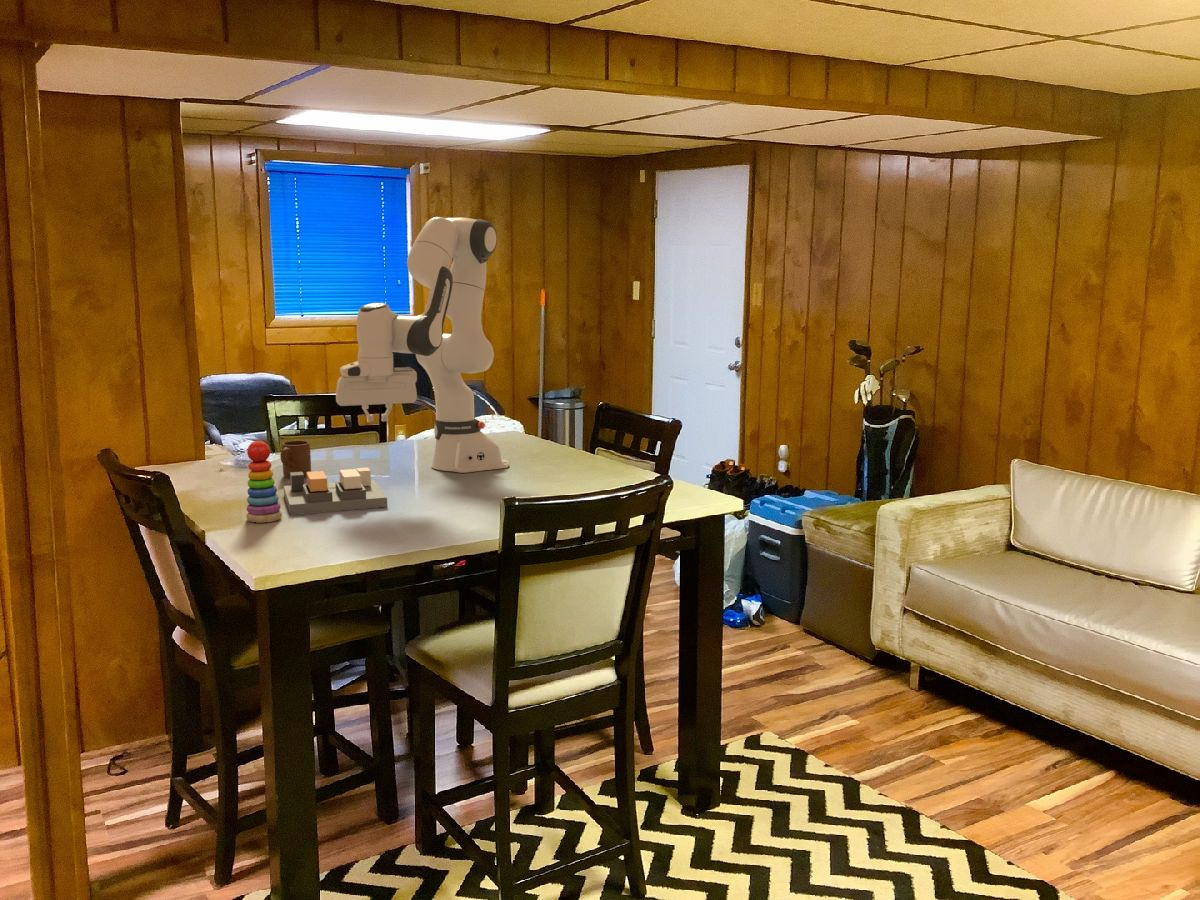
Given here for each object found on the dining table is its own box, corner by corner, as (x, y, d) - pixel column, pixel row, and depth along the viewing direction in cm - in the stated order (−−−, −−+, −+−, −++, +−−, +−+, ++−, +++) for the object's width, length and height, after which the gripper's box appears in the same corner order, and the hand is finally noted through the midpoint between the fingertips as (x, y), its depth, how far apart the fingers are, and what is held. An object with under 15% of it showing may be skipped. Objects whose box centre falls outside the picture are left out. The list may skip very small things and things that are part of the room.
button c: (323, 482, 254) (323, 470, 253) (327, 490, 246) (327, 478, 245) (307, 483, 252) (306, 471, 252) (310, 491, 244) (309, 479, 244)
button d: (356, 480, 257) (355, 468, 256) (361, 488, 248) (360, 476, 248) (339, 481, 255) (339, 469, 255) (344, 489, 247) (343, 477, 246)
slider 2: (368, 482, 264) (368, 467, 264) (370, 485, 261) (370, 470, 260) (356, 483, 263) (356, 468, 263) (359, 486, 260) (358, 471, 259)
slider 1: (303, 486, 259) (302, 471, 258) (304, 490, 255) (303, 474, 254) (290, 487, 257) (290, 472, 257) (292, 491, 254) (291, 475, 253)
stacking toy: (274, 513, 243) (270, 436, 239) (287, 520, 237) (283, 441, 233) (241, 518, 238) (237, 440, 235) (253, 525, 232) (249, 445, 228)
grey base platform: (374, 489, 269) (373, 471, 268) (387, 507, 250) (386, 488, 249) (284, 495, 261) (283, 477, 260) (290, 514, 242) (289, 495, 241)
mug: (296, 482, 276) (294, 448, 274) (270, 481, 277) (268, 447, 275) (316, 473, 287) (314, 441, 286) (291, 472, 289) (289, 440, 287)
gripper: (414, 365, 264) (415, 417, 267) (333, 367, 257) (336, 421, 260) (418, 367, 258) (420, 421, 261) (336, 370, 251) (338, 425, 254)
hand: (377, 421), depth 260 cm, fingers open, 2 cm apart
